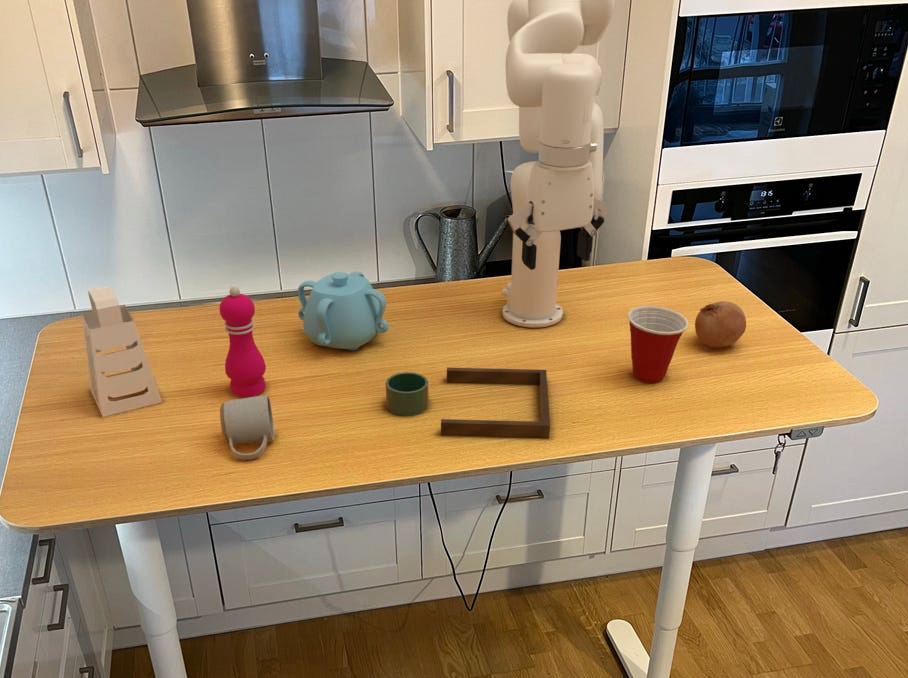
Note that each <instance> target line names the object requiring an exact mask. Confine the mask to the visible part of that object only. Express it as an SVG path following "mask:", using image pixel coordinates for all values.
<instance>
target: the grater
mask: <svg viewBox="0 0 908 678" xmlns="http://www.w3.org/2000/svg"><path fill="white" fill-rule="evenodd" d="M87 294H88V298H89V301H90V302H89V303H90V306H91V307H90V308H91V311H87V312H82V313H81V318H82V328H83V334H84V344H85V351H86V361H87V369H88V376H89V385H90V392H91V394H92V396H93V398H94V401H95V404H96V405H97V407H98V410H99V412H100V414H101V417H102V418H104V417H109V416H113V415H117V414H121V413H125V412H129V411H133V410H136V409H140V408H146V407H149V406H153V405H159V404H161V403H163V401H162V397H161V395H160V392H159V389H158V386H157V383H156V380H155V377H154V374H153V372H152V368H151V365H150V363H149V360H148V357H147V354H146V351H145V348H144V345H143V342H142V339H141V337H140V333H139V330H138V328H137V325H136V322H135V319H134V318H133V315H132V314H131V313H130V311H129V309H128V308H127V306H126V305H125V304H120V303H119V300H118V297H117V295H116V293H115V292H114V290H113V288H112V286H111V285H107V286H102V287H96V288H92V289H91V288H90V289H88V290H87ZM123 347H125V348H126V349H121V350H117V351H113V352H108V353H103V354H98V353H101V352H105V351H110V350H114V349H119V348H123ZM128 369H129V370H128ZM124 370H127V371H124ZM121 371H122V372H121ZM123 371H124V372H123ZM116 372H118V373H116ZM112 373H115V374H112ZM103 374H110V375H105V376H103ZM146 388H147V392H144V394H140V395H136V396H132V397H128V398H124V399H120V400H119V399H118V400H114V401H113V400H109V397H111V398H114V399H115V398H119V397H123V396H128V395H132V394H135V393H140V392H143V391H144V390H146Z"/></svg>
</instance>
